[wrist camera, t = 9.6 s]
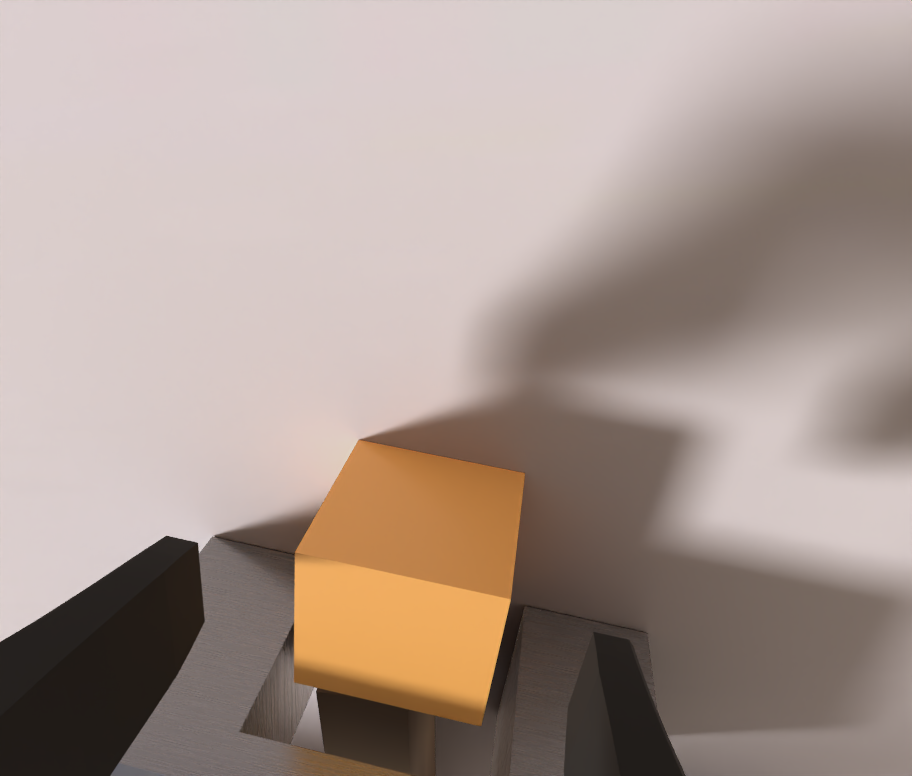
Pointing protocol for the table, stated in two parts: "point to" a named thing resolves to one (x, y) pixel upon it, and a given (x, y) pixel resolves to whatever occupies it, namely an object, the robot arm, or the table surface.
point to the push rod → (377, 733)
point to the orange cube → (408, 581)
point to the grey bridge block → (283, 701)
